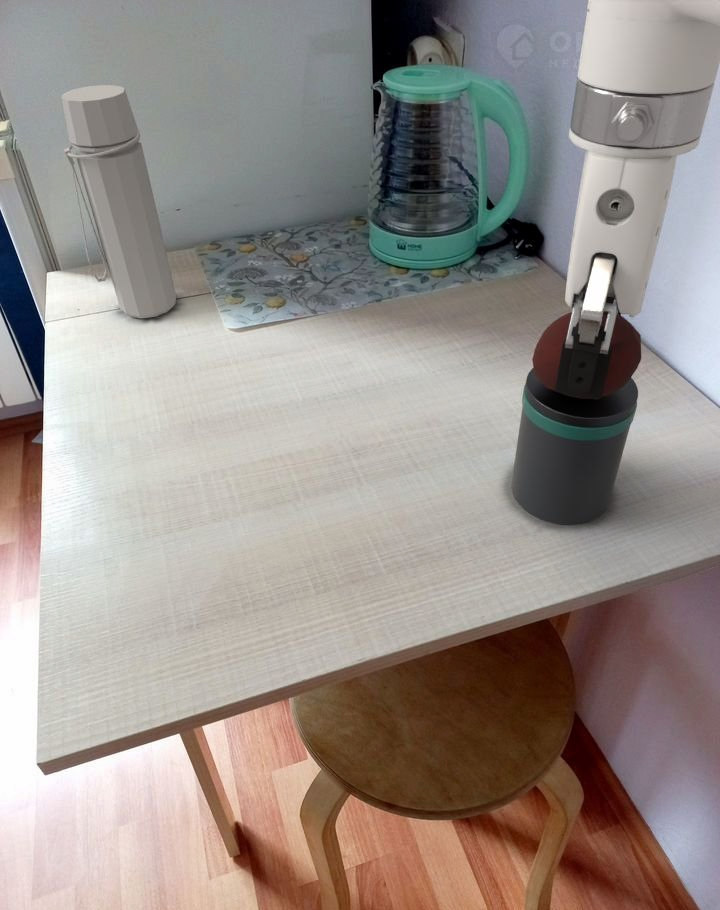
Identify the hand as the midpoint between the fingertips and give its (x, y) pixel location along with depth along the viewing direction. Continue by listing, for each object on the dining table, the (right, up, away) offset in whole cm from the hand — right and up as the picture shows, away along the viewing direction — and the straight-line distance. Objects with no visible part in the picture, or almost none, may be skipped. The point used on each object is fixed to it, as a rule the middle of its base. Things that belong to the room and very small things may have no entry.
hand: (588, 357), depth 53 cm
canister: (0, -10, +9) cm, 14 cm away
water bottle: (-45, +11, +37) cm, 59 cm away
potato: (0, -2, +2) cm, 3 cm away
